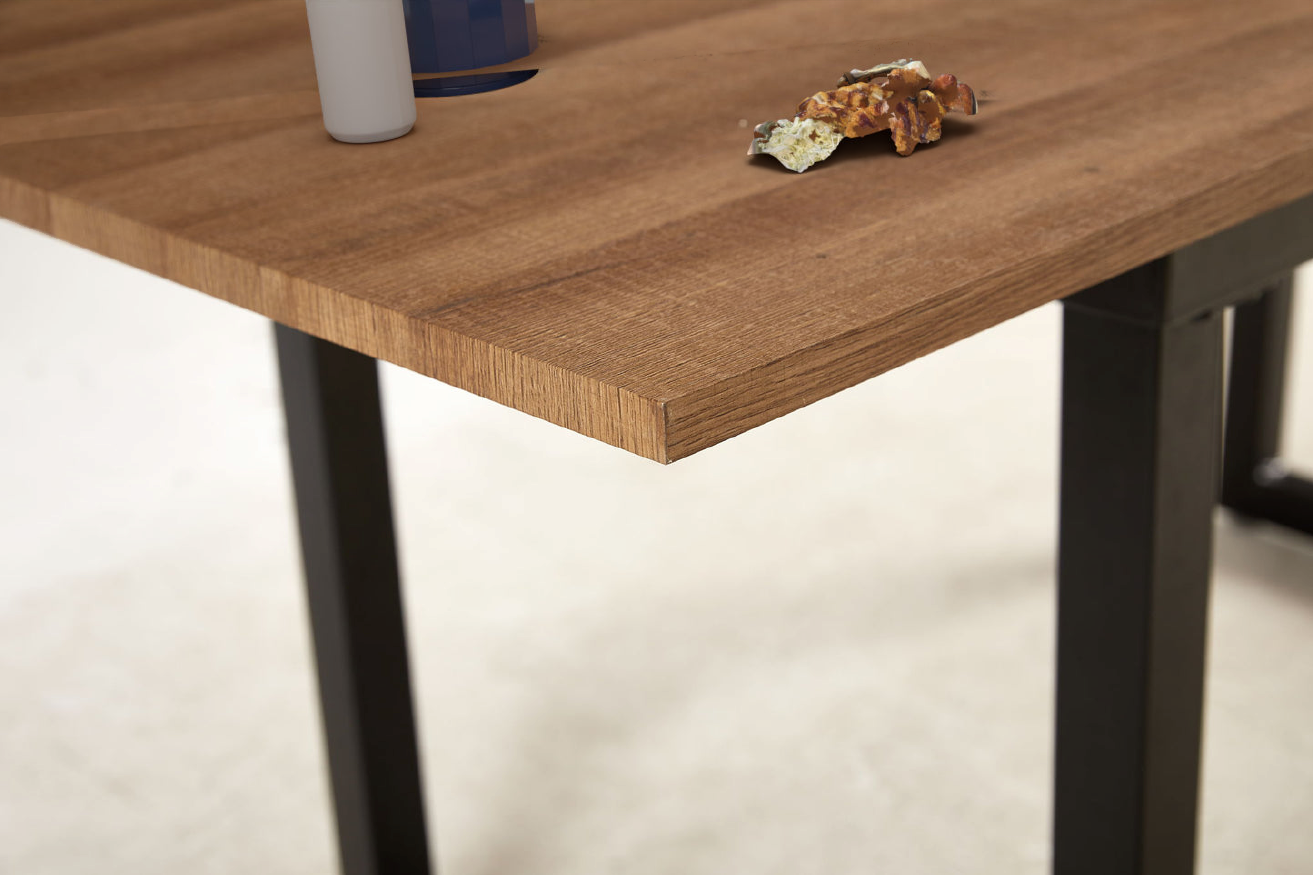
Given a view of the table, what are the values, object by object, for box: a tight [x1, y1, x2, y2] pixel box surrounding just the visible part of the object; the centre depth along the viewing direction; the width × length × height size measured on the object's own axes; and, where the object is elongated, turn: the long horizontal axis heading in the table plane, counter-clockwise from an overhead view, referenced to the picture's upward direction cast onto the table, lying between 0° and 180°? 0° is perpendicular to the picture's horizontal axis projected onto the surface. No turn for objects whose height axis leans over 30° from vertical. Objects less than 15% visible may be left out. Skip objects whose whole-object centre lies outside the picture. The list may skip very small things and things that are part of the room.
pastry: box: [747, 57, 979, 173], centre depth 75 cm, size 7×12×4 cm, turn 133°
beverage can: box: [304, 0, 418, 144], centre depth 79 cm, size 5×5×12 cm
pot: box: [402, 0, 540, 99], centre depth 91 cm, size 10×10×8 cm
